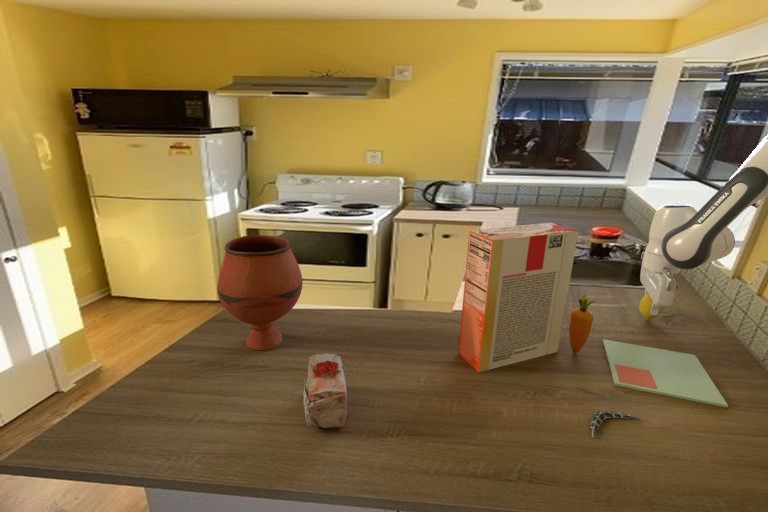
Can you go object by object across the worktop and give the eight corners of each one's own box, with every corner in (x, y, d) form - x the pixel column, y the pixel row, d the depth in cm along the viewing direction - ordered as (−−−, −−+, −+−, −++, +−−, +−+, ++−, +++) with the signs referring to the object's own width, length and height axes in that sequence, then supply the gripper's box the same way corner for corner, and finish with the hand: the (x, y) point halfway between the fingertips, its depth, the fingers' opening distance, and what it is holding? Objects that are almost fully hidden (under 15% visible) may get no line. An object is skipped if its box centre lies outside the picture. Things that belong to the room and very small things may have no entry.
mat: (694, 357, 101) (695, 354, 101) (727, 408, 83) (728, 405, 83) (602, 341, 107) (602, 338, 107) (614, 385, 89) (615, 382, 89)
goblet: (256, 373, 90) (248, 262, 82) (206, 344, 101) (194, 243, 93) (321, 339, 104) (319, 242, 97) (271, 316, 115) (265, 227, 108)
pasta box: (533, 336, 109) (550, 222, 99) (557, 351, 102) (578, 230, 92) (458, 354, 100) (469, 230, 90) (478, 372, 93) (493, 240, 83)
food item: (351, 432, 74) (351, 383, 71) (304, 437, 72) (302, 388, 69) (342, 385, 87) (342, 342, 84) (303, 389, 85) (301, 346, 82)
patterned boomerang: (620, 401, 83) (644, 418, 79) (620, 404, 83) (643, 421, 79) (571, 416, 78) (594, 436, 74) (571, 420, 78) (593, 439, 74)
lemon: (637, 313, 124) (643, 287, 121) (660, 318, 121) (666, 292, 118) (635, 320, 119) (641, 293, 117) (658, 325, 116) (665, 299, 114)
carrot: (568, 345, 105) (579, 289, 100) (589, 353, 101) (601, 295, 97) (560, 352, 101) (570, 295, 97) (581, 361, 98) (592, 301, 93)
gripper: (687, 277, 104) (673, 327, 109) (665, 253, 123) (654, 297, 127) (657, 273, 106) (645, 322, 111) (640, 251, 125) (630, 294, 129)
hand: (650, 309), depth 119 cm, fingers closed on lemon, 5 cm apart
